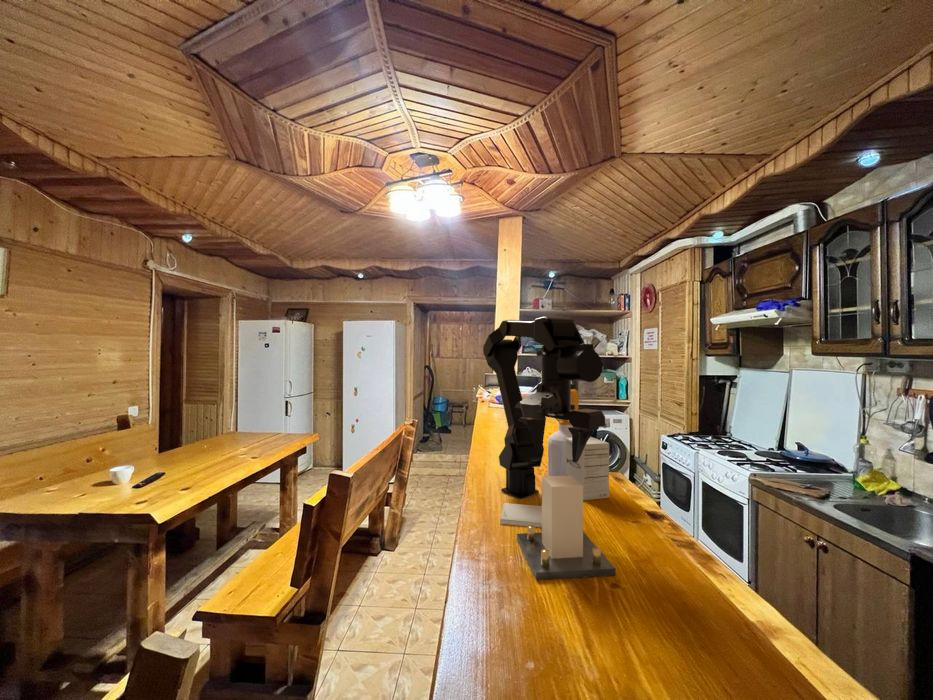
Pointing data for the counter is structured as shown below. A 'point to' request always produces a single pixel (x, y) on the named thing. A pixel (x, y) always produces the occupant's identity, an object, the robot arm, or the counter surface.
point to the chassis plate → (563, 559)
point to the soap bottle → (560, 444)
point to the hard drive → (521, 515)
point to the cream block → (562, 516)
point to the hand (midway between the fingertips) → (556, 456)
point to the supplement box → (590, 468)
